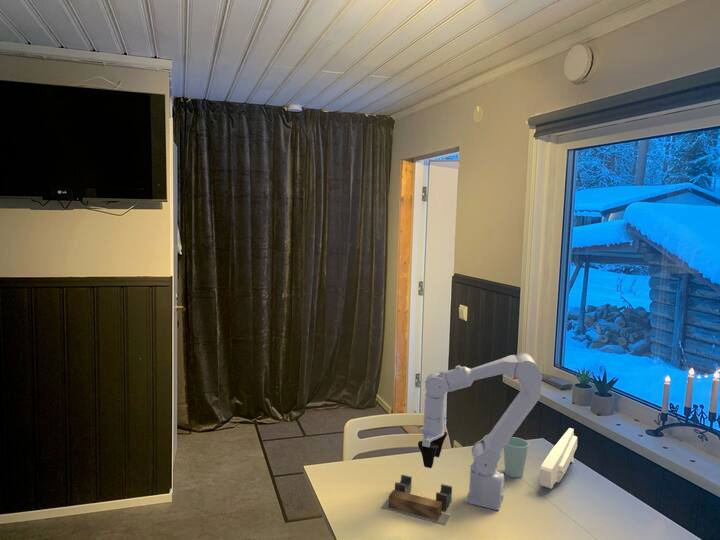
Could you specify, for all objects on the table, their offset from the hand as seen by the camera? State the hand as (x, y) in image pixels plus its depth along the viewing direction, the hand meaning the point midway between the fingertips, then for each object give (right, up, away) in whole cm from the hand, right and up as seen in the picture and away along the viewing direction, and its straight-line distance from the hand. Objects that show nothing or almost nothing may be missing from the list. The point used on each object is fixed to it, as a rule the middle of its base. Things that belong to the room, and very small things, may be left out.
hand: (431, 461), depth 155 cm
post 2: (+3, -11, -5) cm, 12 cm away
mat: (-6, -11, -9) cm, 15 cm away
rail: (-6, -10, -9) cm, 15 cm away
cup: (+28, -10, +16) cm, 34 cm away
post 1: (-8, -10, 0) cm, 13 cm away
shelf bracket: (+42, -10, +15) cm, 46 cm away
